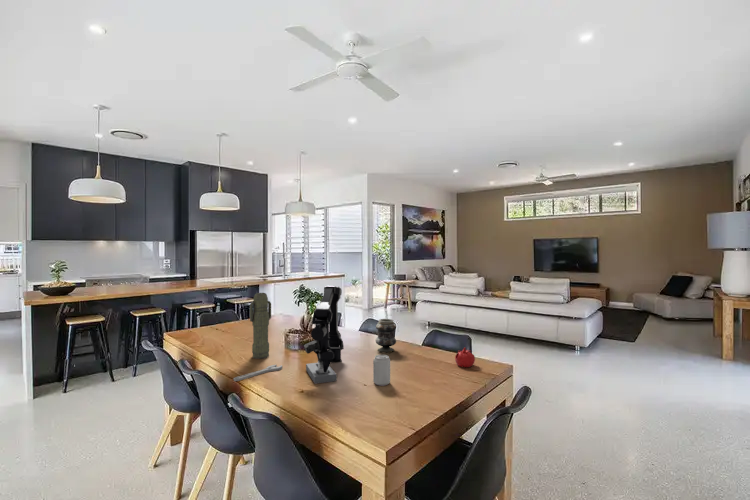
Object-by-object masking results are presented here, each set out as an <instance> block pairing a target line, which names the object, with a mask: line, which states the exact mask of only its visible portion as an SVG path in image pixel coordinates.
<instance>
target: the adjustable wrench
mask: <svg viewBox="0 0 750 500" xmlns="http://www.w3.org/2000/svg"><path fill="white" fill-rule="evenodd" d="M281 370H283V365H282V364H281V365H279V366H277V364H272V365H268V366H267V367H265V368H263V369H260V370H256V371H253V372H249V373H246V374H243V375H240V376H239V375H237V376H235V377H233V382H239V381H242V380H243V381H244V380H245V379H250V378H253V377H256V376H259V375H262V374H265V373H270V372H276V371H277V372H279V371H281Z"/></svg>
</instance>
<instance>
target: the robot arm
mask: <svg viewBox="0 0 750 500" xmlns="http://www.w3.org/2000/svg"><path fill="white" fill-rule="evenodd" d="M341 296H342V288H341V287H340V286H334V285H325V286H324V288H323V294H322V299H321V302H320V303H319V304H318V305H316V308H315V309H314V311H313V315H312V321H311V324H312V325H315V327H314V328H313V329H312V330H311V333H310V336H311V339H313V341H310V342H308V343H305V344H304V345H303V348H304V350H305V353H306V354H308V355H309V354H311V353H312V352H313V353H314V354H315V355H316V358H317V361H318V360H321V361H322V364H323V370H324V372H327V370H328V367H329V366H330V365H331V363H340V362H342V361H343V360H342V350H344V342H343V341H344V340H343V338H342V334H341V332H340V331H339V330H338V329H339V325H338V324H339V319H338V318H339V317H338V316H339V315H338V312H339V311H338V308H339V307H338V302H339V301H340V300H341Z"/></svg>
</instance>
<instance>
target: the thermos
mask: <svg viewBox="0 0 750 500" xmlns="http://www.w3.org/2000/svg"><path fill="white" fill-rule="evenodd" d="M268 297H269V296H268V295H267V293H266V292H256V293H255V294H254V296H253V300H252V302H251V303H250V304H249V320H250V322H252V323H251V324H252V326H253V328H252V329H253V330H252V331H253V333H252V334H253V335H252V336H253V337H252V339H253V342H252V347H251V349H252V350H251V351H252V359H255V360H256V359H257V360H258V359H267V358H268V357H270V354H269V353H270V343H269V325H270V320H271V319H272V302H271V301H269V299H268Z"/></svg>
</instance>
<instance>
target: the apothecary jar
mask: <svg viewBox="0 0 750 500" xmlns="http://www.w3.org/2000/svg"><path fill="white" fill-rule="evenodd" d="M375 328H376V330H377V337H376V338H375V343H376V344H377V345H378V346H380V347H379V348H378V349H377V352H378V351H380V352H379V353H382V352H390V353H393V352H392V351H394V352H395V349H394V348H392V346H394V345H396V343H397V339H396V338H395V330H396V329H397V325H396V324H395V322H394V320H393V319H390V318H380V319H378V322H377V324H376V326H375Z"/></svg>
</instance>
